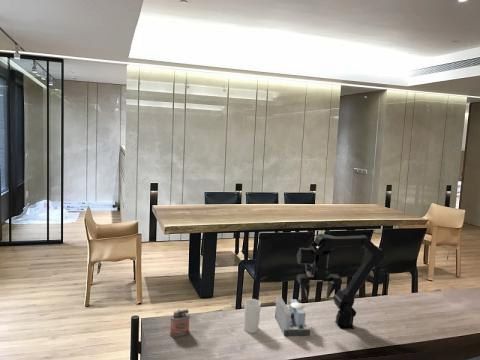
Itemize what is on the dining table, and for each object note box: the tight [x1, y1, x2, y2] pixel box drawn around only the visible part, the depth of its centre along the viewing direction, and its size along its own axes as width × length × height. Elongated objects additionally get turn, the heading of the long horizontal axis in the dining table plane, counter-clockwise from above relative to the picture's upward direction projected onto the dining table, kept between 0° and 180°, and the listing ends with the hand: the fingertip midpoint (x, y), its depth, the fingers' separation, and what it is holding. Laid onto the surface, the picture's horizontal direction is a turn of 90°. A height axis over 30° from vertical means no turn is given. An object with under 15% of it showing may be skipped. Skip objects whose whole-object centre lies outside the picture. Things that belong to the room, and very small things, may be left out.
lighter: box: [169, 308, 191, 337], centre depth 164 cm, size 8×3×10 cm, turn 117°
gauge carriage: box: [288, 298, 306, 328], centre depth 175 cm, size 6×15×9 cm, turn 9°
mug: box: [243, 298, 262, 333], centre depth 173 cm, size 10×7×12 cm, turn 10°
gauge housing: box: [274, 295, 311, 337], centre depth 176 cm, size 11×17×10 cm, turn 9°
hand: (317, 298), depth 177 cm, fingers open, 9 cm apart
